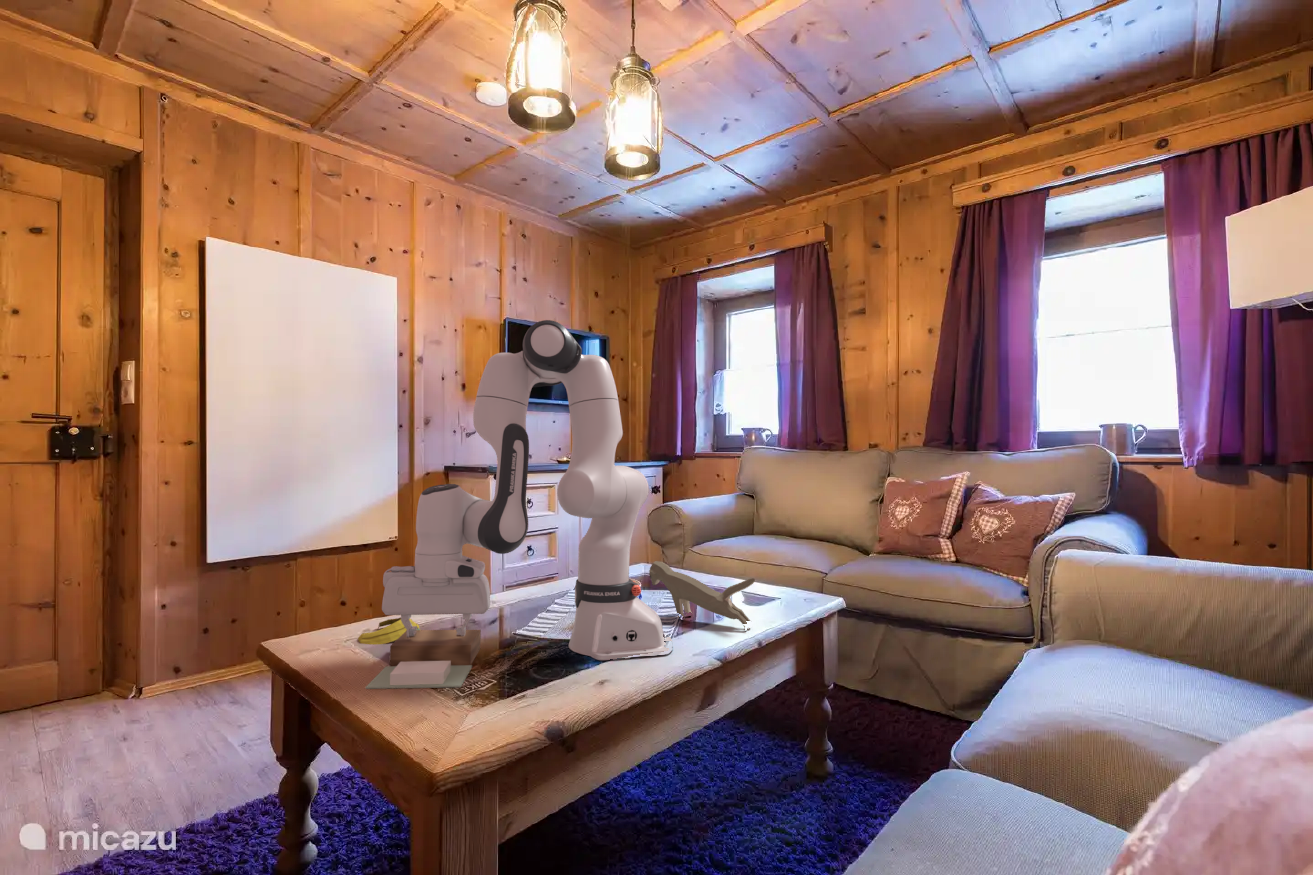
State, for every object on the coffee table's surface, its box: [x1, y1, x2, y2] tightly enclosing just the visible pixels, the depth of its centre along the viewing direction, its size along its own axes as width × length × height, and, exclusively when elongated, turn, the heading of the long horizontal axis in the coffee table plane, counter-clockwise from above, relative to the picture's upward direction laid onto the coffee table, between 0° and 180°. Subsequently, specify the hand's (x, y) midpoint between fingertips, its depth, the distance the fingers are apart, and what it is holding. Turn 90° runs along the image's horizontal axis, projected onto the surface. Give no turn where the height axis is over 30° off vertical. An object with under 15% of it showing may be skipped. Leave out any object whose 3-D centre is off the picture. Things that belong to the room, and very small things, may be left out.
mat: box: [365, 664, 473, 690], centre depth 108 cm, size 16×10×1 cm, turn 96°
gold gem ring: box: [357, 616, 421, 646], centre depth 133 cm, size 13×13×4 cm
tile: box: [390, 661, 451, 685], centre depth 107 cm, size 9×6×2 cm, turn 97°
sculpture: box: [648, 560, 756, 625], centre depth 149 cm, size 6×18×30 cm
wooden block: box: [389, 629, 482, 666], centre depth 119 cm, size 15×10×4 cm, turn 96°
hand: (436, 636), depth 118 cm, fingers open, 8 cm apart
